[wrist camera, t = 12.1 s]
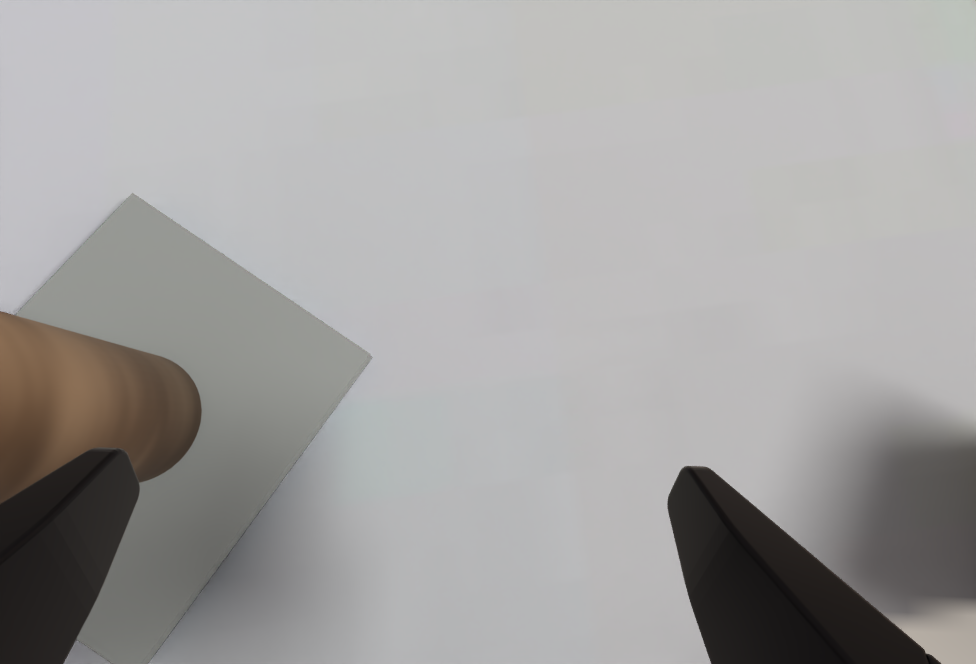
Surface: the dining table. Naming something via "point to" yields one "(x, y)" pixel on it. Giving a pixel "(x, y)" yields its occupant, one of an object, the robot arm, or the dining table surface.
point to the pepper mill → (87, 403)
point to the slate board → (224, 401)
